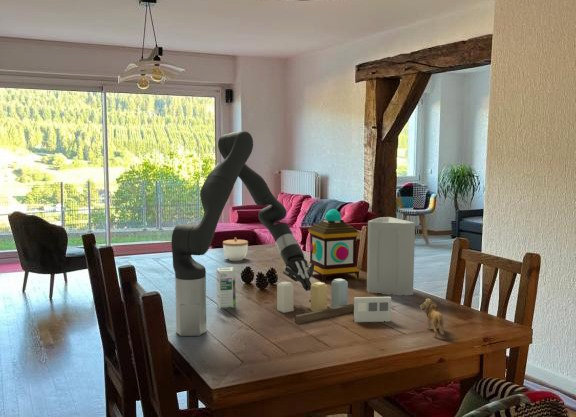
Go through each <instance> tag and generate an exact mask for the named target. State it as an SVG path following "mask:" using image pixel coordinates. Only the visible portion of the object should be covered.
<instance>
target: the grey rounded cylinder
mask: <svg viewBox="0 0 576 417" xmlns="http://www.w3.org/2000/svg"><path fill="white" fill-rule="evenodd" d="M348 287H349V282H348V281H347V280H346V279H343V278H334V279H333V280H331V292H330V293H331V294H330V295H331V298H330V299H331V301H330V304H331V306H330V307H332V308H334V307H339V306H344V305H349V304H348V298H349V297H348V295H349V294H348V292H349V288H348Z"/></svg>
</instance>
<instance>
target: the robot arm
mask: <svg viewBox="0 0 576 417" xmlns="http://www.w3.org/2000/svg"><path fill="white" fill-rule="evenodd" d="M217 146H218V147H217V148H218V151H219V153H220V155H221V157H222V158H223V160H222V161H221V162H220V163H219V164H218V165H216V167H215V168H213V169H212V170H211V171H210V173H209V174H208V175H207V176H206V178H205V181H204V183H203V184H202V186H201V189H200V194H199V195H200V201H201V202H200V203H201V205H202V209H203V216H202V219H201V221H200V222H199V224H193V223H192V224H189V223H180V224H177V225H176V226H175V227H174V228H173V231H172V234H171V251H172V252H171V255H172V266H173V268H172V269H173V270H174V279H175V281H174V282H175V283H174V284H175V331H176V333H177V334H178V335H179V336H180V337H189V336H191V337H192V336H199V337H200V336H201V335H202V334H205V333H206V332H207V330H208V329H207V327H208V326H207V281H206V280H207V277H206V276H207V270H206V267H205V266H204V265H203V264H201V263H199V262H197V261H196V260H195V259H194V258H193V256H203V255H205V254H206V253H207V252H208V251H209V249H210V247H211V244H212V241H213V239H214V236H215V233H216V230H217V227H218V223H219V221H220V218H221V215H222V213H223V211H224V209H225V206H226V204H227V202H228V200H229V198H230V196H231V194H232V191H233V188H234V185H235V184H236V181H237V179H238V178H239V179H240V180H241V181H242V183H243V185H244V186H245V187H246V189H247V191H248V193H249V194H250V196H251V197H252V200H253V201H254V204H256V206H259V207H263V208H262V209H260V210H258V216H257V217H258V220H259V222H260V223H261V224H262V225H263V226H264V227H265V228H266V229H267V230H268V232H269V233H270V234H271V236H272V237H273V240H274V243H275V244H276V247H277V248H276V249H277V250H278V252H279V254H280V257H281V259H282V260H283V263H284V264H285V268H284V270H283V271H282V274H284V275H285V276H287V277H288V278H290V279H291V280H293V281H294V282H295V283H297V282H299V283H300V284H301V286H302V288H303V289H304V290H305V292H308V291H309V292H310V291H311V285H312V284H313V283H312V282H311V281H310V279H311V278H312V276H313V274H314V271H313V270H314V266H315V265H314V264H309V263H308V260H307V259H305V255H304V253H303V251H302V249H301V246H300V245H299V243H298V240H297V239H296V237H295V236H294V234H293V232H292V230H291V228H290V226H289V224H287V222H280V221H282V220H283V219H285V218H286V217H287V209H286V207H285V206H284V204H282V203H281V202H280V201H279V200H278V199H277V198H276V197H275V196H274V195H273V193H272V191H271V189H270V187H269V186H268V184H267V183H266V182H267V181H265V179H264V177H262V176H261V175H260V174H259V173H258V172H256V171H255V170H254V169H252V168H251V167H249V166H248V164H246V163H247V162H248V159H249V158H250V156H251V155H252V151H253V149H254V139H253V137H252V135H251V133H249V131H245V130H237V131H233V132H229V133H224V134H223V135H220V137H219V138H218V141H217ZM265 206H266V207H265ZM307 270H308V273H307Z"/></svg>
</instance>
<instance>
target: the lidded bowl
mask: <svg viewBox="0 0 576 417" xmlns="http://www.w3.org/2000/svg"><path fill="white" fill-rule="evenodd" d="M222 247H223V248H222V249H223V253H224V256H225V257H226V258H227V259H228V261H233V262H235V261H243V259H244V258H245V257H246V255H247V254H248V248H249V241H248V240H245V239H238V238H237V237H234V239H227V240H223V241H222Z"/></svg>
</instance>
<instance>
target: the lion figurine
mask: <svg viewBox="0 0 576 417" xmlns="http://www.w3.org/2000/svg"><path fill="white" fill-rule="evenodd" d="M419 307H420V309H421V311H423V312H424V311H425V312H424V313H425V315H426V318H427V325H428V326H427V327H426V330H432V327H433V331H434V334H433V338H438V337H439V336H438V331H439V334H440V336H441V337H442V338H443V339H446V336H445V334H446V333H445V332H444V316H443V314H442V313H440V308H439V307H438V305H437V303H436V302H435V301H434V300H433V299H432V298H425V301H424V302H422V304H420V305H419ZM437 329H438V330H437Z"/></svg>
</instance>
